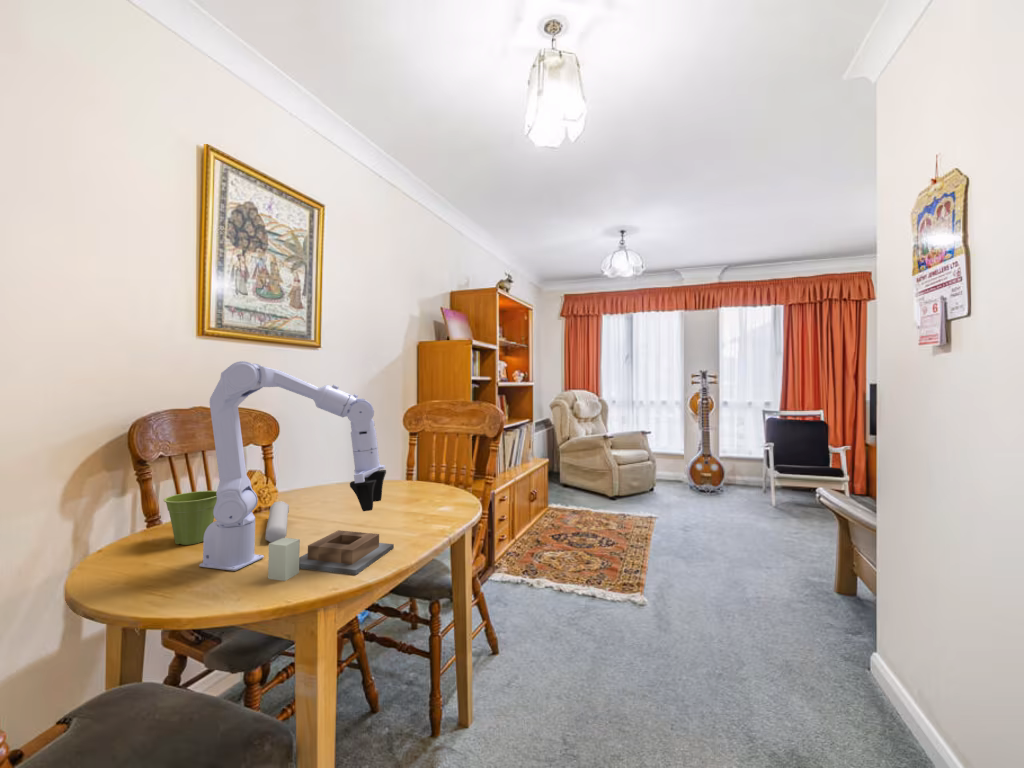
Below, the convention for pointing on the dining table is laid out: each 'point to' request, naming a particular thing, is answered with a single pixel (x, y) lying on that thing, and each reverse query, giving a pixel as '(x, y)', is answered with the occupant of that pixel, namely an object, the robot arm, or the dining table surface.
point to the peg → (283, 559)
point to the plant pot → (191, 515)
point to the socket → (344, 552)
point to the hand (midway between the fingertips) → (372, 505)
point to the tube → (277, 521)
